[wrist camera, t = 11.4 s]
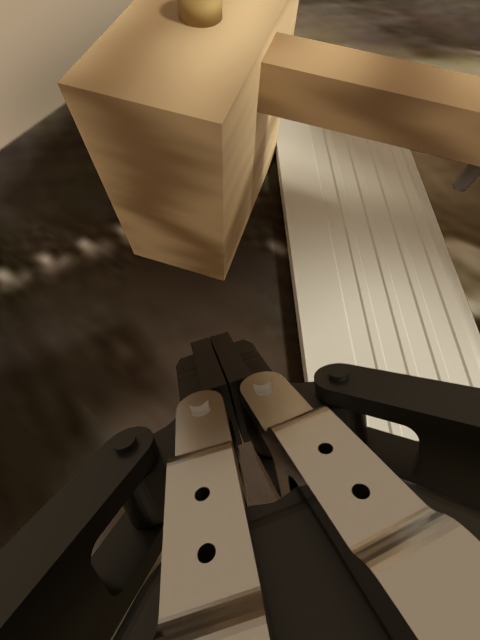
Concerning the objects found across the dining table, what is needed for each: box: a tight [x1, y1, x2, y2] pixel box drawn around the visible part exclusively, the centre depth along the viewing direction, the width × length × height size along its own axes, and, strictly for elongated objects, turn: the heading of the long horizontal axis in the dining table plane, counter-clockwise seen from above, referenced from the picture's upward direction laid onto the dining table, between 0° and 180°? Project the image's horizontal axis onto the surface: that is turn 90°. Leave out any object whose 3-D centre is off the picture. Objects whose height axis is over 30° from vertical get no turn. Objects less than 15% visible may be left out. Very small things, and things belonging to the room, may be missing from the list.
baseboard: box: [275, 118, 480, 441], centre depth 21 cm, size 31×3×12 cm
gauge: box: [57, 0, 480, 281], centre depth 17 cm, size 18×12×11 cm, turn 72°
